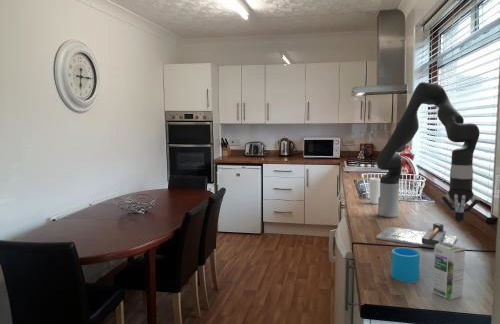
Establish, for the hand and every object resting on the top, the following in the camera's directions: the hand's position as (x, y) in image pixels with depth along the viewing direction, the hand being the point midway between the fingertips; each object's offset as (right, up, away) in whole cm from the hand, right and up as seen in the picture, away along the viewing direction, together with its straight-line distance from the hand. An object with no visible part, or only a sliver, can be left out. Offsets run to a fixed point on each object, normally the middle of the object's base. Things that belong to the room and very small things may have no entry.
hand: (459, 221), depth 147 cm
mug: (-30, -14, -22) cm, 40 cm away
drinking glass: (-5, -2, +83) cm, 83 cm away
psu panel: (-10, -10, +15) cm, 20 cm away
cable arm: (-5, -8, +10) cm, 14 cm away
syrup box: (-24, -15, -37) cm, 46 cm away
